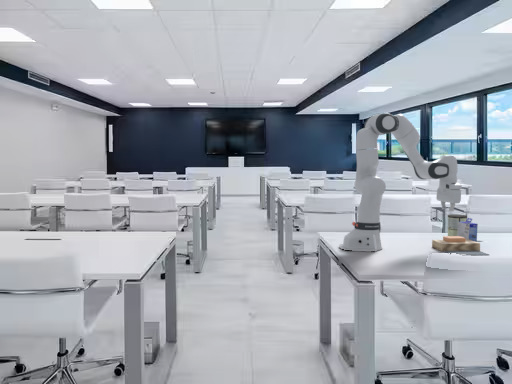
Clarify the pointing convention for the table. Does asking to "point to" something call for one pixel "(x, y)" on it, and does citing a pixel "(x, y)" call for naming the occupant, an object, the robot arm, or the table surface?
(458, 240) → the block
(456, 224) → the coffee can
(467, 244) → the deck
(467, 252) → the mat
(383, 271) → the table surface
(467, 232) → the ink cartridge box
